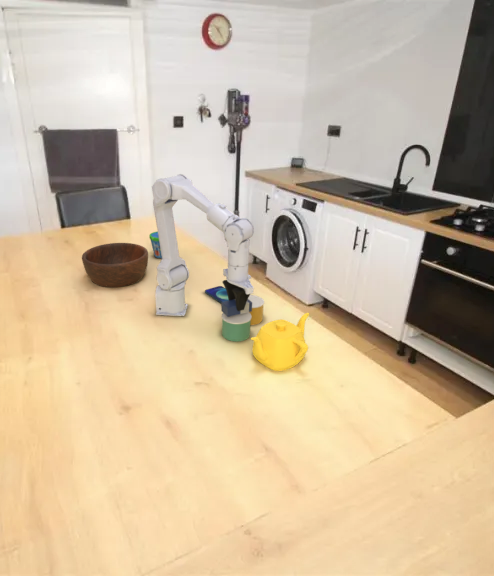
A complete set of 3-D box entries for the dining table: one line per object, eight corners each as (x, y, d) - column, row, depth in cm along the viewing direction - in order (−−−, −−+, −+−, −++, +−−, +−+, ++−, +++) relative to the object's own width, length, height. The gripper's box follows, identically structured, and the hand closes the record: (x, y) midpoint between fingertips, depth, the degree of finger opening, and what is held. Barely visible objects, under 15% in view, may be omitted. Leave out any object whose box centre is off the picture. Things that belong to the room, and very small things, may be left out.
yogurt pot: (220, 341, 120) (220, 322, 117) (222, 325, 127) (222, 308, 125) (250, 342, 119) (251, 324, 116) (250, 327, 127) (251, 309, 124)
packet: (227, 317, 117) (227, 307, 115) (221, 311, 120) (221, 301, 119) (251, 311, 120) (252, 302, 118) (245, 305, 123) (245, 296, 122)
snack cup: (149, 251, 189) (147, 229, 184) (171, 249, 191) (170, 228, 186) (152, 263, 175) (151, 240, 171) (176, 261, 177) (176, 238, 173)
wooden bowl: (71, 284, 155) (67, 259, 151) (109, 262, 176) (106, 239, 172) (127, 295, 147) (125, 269, 142) (160, 270, 168) (159, 246, 163)
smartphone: (220, 285, 152) (245, 300, 141) (220, 287, 153) (245, 302, 141) (203, 290, 149) (227, 306, 137) (203, 292, 149) (227, 308, 137)
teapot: (274, 390, 100) (277, 353, 95) (232, 360, 111) (233, 326, 106) (330, 358, 112) (336, 324, 107) (288, 334, 123) (291, 302, 118)
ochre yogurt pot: (235, 324, 128) (235, 306, 125) (236, 311, 136) (236, 294, 133) (263, 325, 127) (264, 308, 125) (262, 312, 135) (263, 295, 133)
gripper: (264, 270, 109) (261, 314, 115) (238, 252, 121) (237, 293, 127) (241, 274, 106) (239, 319, 112) (216, 256, 118) (216, 298, 124)
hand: (236, 306), depth 119 cm, fingers closed on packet, 4 cm apart
